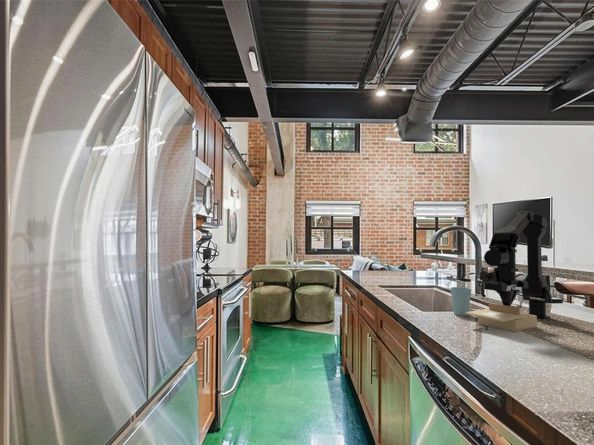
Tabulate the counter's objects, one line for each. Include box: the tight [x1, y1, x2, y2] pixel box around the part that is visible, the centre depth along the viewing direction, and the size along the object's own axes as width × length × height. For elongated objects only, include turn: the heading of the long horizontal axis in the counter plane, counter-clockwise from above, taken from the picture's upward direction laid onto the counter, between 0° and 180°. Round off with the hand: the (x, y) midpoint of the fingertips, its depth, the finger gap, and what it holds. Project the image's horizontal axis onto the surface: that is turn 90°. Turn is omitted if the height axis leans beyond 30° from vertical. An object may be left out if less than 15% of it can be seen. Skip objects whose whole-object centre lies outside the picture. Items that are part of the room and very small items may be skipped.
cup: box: [450, 286, 472, 316], centre depth 145 cm, size 8×8×10 cm
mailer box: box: [477, 312, 538, 333], centre depth 126 cm, size 14×13×4 cm
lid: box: [466, 302, 526, 322], centre depth 122 cm, size 14×13×3 cm
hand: (506, 309), depth 126 cm, fingers closed
